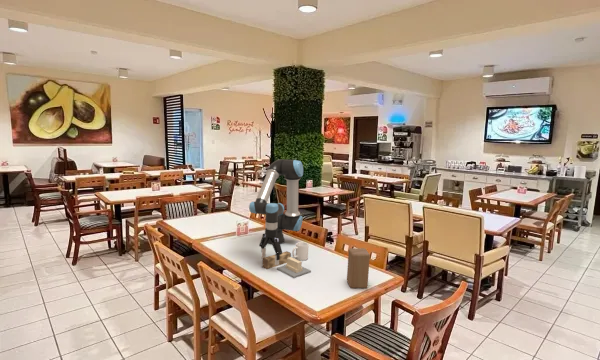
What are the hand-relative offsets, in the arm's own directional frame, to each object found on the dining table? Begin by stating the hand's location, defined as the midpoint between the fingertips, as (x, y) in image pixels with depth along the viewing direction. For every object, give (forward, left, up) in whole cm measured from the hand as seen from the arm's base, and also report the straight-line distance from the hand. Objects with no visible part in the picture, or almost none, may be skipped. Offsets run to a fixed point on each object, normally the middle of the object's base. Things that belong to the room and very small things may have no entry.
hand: (270, 261), depth 210 cm
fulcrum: (-8, +14, -3) cm, 16 cm away
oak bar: (-6, 0, -4) cm, 7 cm away
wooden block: (-24, +50, -4) cm, 55 cm away
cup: (-24, +2, -4) cm, 24 cm away
